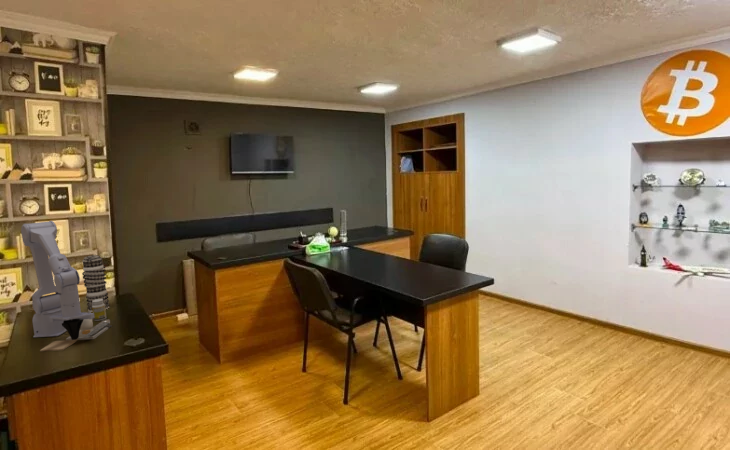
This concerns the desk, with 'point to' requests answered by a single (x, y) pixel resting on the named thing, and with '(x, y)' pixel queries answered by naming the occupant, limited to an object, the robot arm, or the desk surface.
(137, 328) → the desk surface
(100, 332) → the socket
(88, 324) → the plug
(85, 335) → the clip
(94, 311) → the supplement bottle
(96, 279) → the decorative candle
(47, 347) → the coaster
